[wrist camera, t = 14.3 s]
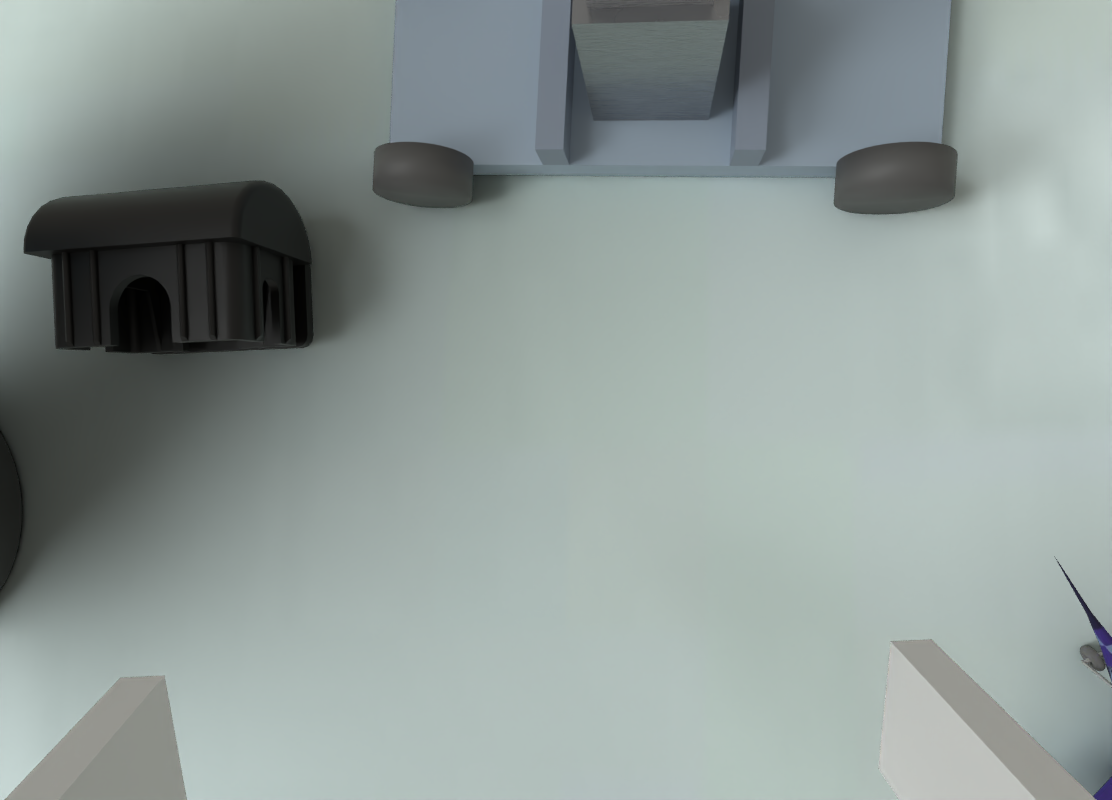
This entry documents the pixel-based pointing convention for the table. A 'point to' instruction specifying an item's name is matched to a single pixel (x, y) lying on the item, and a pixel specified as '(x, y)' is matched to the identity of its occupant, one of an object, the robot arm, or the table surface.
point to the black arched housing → (177, 269)
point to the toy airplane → (1097, 667)
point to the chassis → (675, 145)
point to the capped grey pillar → (650, 56)
